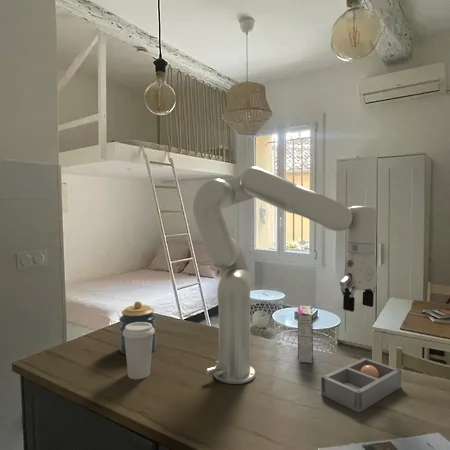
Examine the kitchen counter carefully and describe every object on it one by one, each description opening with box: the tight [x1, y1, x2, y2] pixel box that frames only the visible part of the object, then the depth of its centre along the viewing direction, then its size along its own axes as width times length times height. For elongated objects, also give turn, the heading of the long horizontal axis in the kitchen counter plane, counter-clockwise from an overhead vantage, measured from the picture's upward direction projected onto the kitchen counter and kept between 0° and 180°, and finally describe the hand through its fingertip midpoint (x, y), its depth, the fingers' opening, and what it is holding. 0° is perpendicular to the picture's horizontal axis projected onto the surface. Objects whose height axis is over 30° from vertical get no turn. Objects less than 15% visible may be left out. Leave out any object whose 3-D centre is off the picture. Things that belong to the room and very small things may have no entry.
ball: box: [360, 365, 379, 379], centre depth 99 cm, size 5×5×5 cm
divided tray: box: [320, 357, 402, 413], centre depth 97 cm, size 21×11×5 cm, turn 127°
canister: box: [118, 300, 157, 356], centre depth 126 cm, size 13×13×18 cm
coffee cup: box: [123, 322, 155, 380], centre depth 107 cm, size 10×10×15 cm
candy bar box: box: [297, 305, 314, 364], centre depth 120 cm, size 11×5×16 cm, turn 168°
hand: (358, 308), depth 101 cm, fingers open, 9 cm apart
